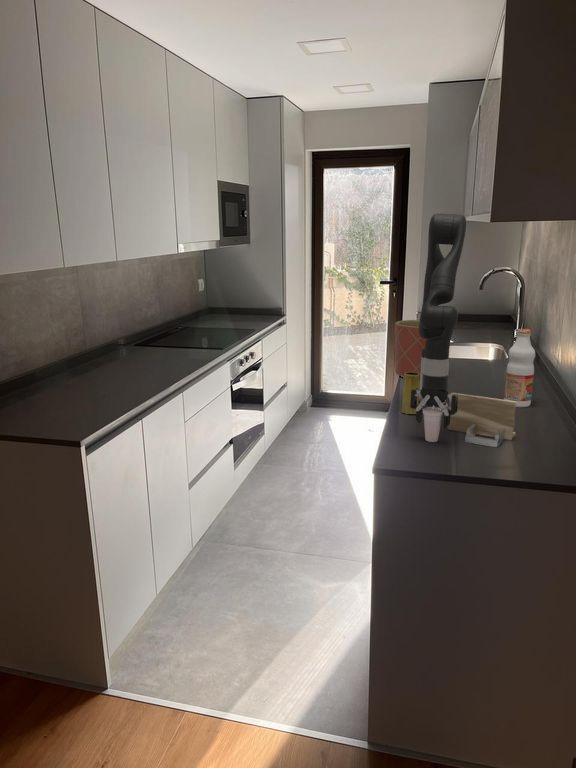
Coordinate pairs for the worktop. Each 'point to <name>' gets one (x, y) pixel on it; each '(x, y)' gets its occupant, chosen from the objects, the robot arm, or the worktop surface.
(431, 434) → the smoothie
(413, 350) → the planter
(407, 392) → the vase
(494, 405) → the wall board
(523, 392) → the fruit juice
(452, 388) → the worktop surface
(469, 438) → the white u-shaped frame
